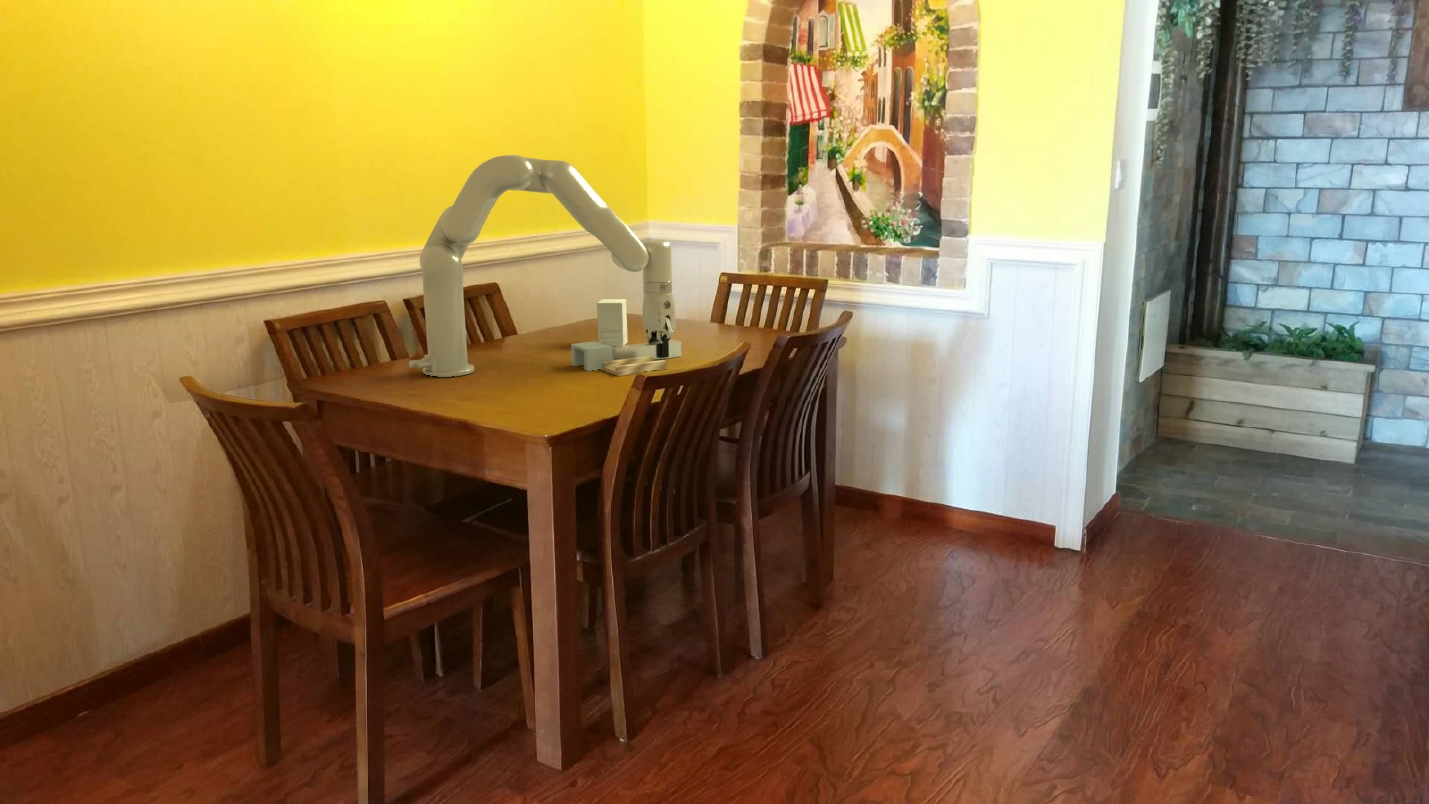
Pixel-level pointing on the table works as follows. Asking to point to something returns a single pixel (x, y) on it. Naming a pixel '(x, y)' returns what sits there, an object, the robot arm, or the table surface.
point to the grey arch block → (590, 355)
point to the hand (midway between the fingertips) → (658, 355)
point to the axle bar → (645, 350)
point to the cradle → (633, 365)
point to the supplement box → (612, 322)
